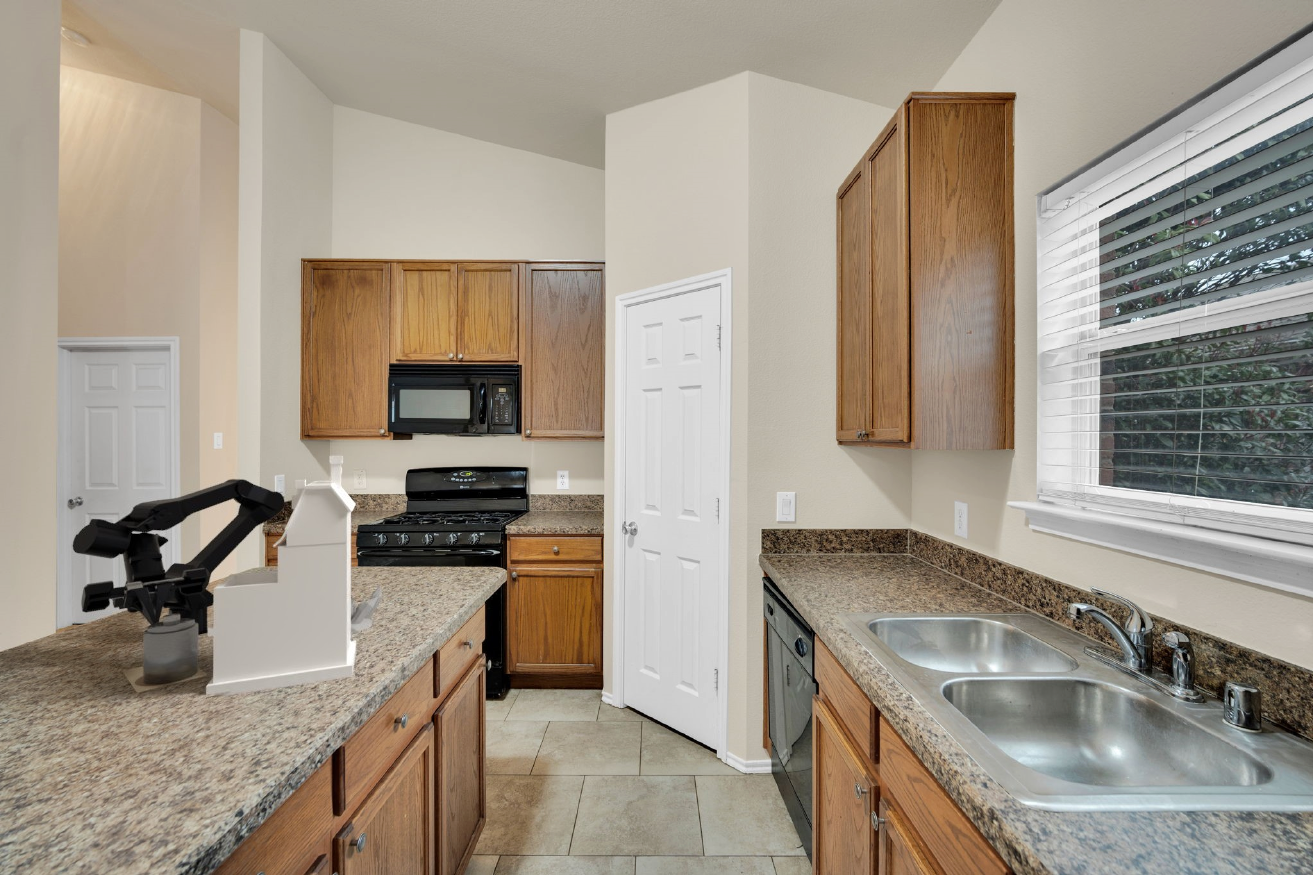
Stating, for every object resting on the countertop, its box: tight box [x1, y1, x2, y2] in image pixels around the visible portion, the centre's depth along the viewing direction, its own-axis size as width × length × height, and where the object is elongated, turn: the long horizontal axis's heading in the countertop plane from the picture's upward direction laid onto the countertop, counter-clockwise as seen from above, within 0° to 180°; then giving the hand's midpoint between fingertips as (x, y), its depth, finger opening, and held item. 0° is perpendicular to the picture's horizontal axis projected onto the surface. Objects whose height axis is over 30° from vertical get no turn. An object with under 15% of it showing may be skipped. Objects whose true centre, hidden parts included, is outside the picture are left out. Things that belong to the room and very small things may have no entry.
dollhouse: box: [205, 455, 357, 699], centre depth 109 cm, size 22×15×40 cm
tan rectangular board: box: [121, 665, 208, 693], centre depth 107 cm, size 10×14×1 cm, turn 50°
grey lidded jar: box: [142, 613, 199, 685], centre depth 106 cm, size 8×8×11 cm
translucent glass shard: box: [351, 584, 383, 633], centre depth 136 cm, size 10×13×15 cm
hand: (155, 624), depth 113 cm, fingers closed
